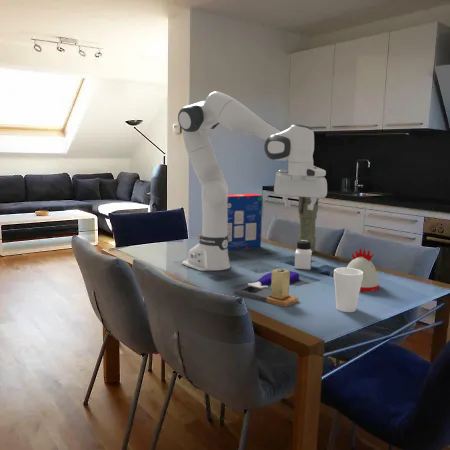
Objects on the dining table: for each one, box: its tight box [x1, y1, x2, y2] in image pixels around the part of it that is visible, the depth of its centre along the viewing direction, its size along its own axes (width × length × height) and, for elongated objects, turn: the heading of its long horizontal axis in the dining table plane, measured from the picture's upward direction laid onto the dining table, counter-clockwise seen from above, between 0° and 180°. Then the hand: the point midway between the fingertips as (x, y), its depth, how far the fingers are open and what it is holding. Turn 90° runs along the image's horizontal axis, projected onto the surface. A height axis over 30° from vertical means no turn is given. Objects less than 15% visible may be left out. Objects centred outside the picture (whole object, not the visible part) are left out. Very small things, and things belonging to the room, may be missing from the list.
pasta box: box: [227, 193, 263, 252], centre depth 242 cm, size 28×8×28 cm, turn 117°
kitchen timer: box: [345, 248, 380, 293], centre depth 180 cm, size 14×14×15 cm
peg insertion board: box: [234, 284, 299, 308], centre depth 165 cm, size 22×8×2 cm, turn 51°
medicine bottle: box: [294, 240, 313, 270], centre depth 207 cm, size 7×7×12 cm
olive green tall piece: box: [297, 196, 319, 253], centre depth 237 cm, size 9×12×35 cm
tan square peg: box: [270, 268, 291, 301], centre depth 161 cm, size 4×4×11 cm
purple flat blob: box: [247, 270, 300, 289], centre depth 183 cm, size 3×11×24 cm
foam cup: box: [333, 267, 363, 313], centre depth 154 cm, size 10×9×13 cm
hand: (298, 208), depth 168 cm, fingers open, 8 cm apart
